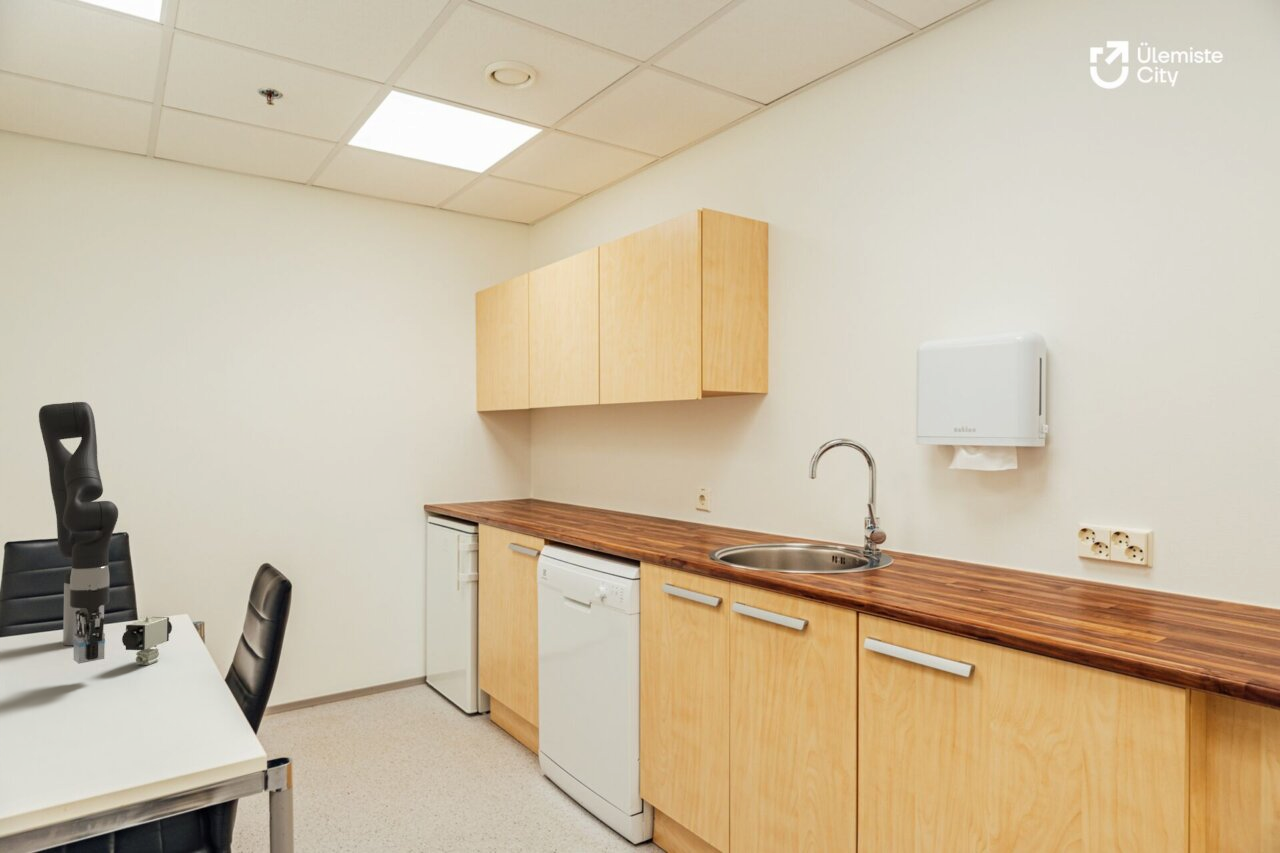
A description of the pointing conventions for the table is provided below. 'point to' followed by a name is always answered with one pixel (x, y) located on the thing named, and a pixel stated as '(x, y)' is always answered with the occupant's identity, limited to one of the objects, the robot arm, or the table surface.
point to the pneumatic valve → (147, 638)
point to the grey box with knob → (81, 648)
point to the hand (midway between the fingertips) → (89, 656)
